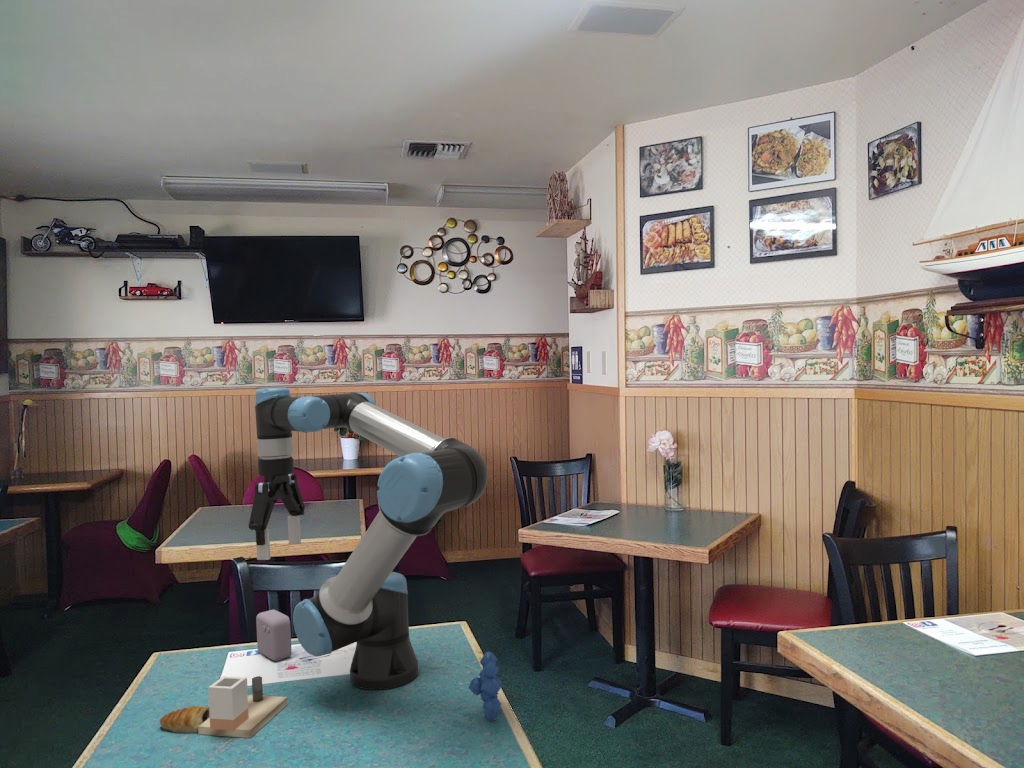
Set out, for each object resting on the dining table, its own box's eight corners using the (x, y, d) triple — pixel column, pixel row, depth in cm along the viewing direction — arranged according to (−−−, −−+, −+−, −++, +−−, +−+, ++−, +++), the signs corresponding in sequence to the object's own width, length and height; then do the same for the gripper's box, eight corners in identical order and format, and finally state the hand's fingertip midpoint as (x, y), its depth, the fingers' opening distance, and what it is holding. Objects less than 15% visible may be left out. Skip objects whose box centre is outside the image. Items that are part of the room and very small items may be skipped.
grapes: (467, 703, 151) (465, 645, 151) (500, 700, 152) (498, 642, 152) (471, 731, 140) (468, 668, 139) (506, 727, 140) (504, 665, 140)
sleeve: (225, 716, 146) (223, 676, 146) (248, 717, 145) (246, 677, 145) (210, 728, 141) (208, 687, 141) (233, 730, 140) (231, 688, 140)
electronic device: (255, 653, 183) (253, 612, 183) (273, 647, 186) (271, 608, 186) (273, 664, 176) (271, 622, 175) (291, 658, 179) (289, 617, 178)
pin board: (287, 704, 154) (286, 675, 154) (250, 738, 140) (248, 706, 140) (239, 701, 156) (238, 672, 156) (198, 734, 143) (196, 703, 142)
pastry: (153, 735, 143) (152, 715, 143) (170, 718, 150) (169, 700, 150) (200, 734, 143) (199, 715, 143) (216, 718, 150) (215, 699, 149)
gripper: (288, 450, 179) (292, 537, 179) (228, 464, 154) (232, 566, 155) (316, 449, 177) (320, 538, 178) (260, 464, 153) (265, 566, 153)
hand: (279, 551), depth 166 cm, fingers open, 13 cm apart
